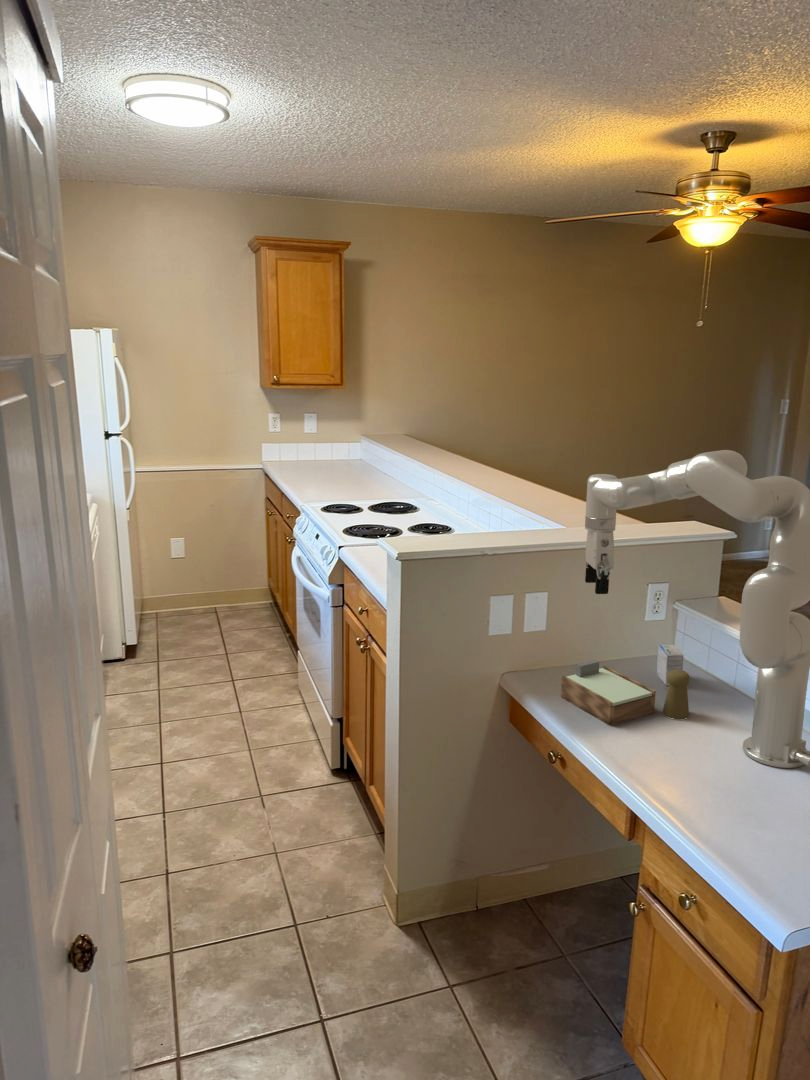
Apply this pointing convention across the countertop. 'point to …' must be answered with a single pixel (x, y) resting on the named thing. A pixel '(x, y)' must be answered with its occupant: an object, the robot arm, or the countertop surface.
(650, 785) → the countertop surface
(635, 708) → the wooden drawer box
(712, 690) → the countertop surface
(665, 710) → the cork
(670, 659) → the medicine box
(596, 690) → the lid
